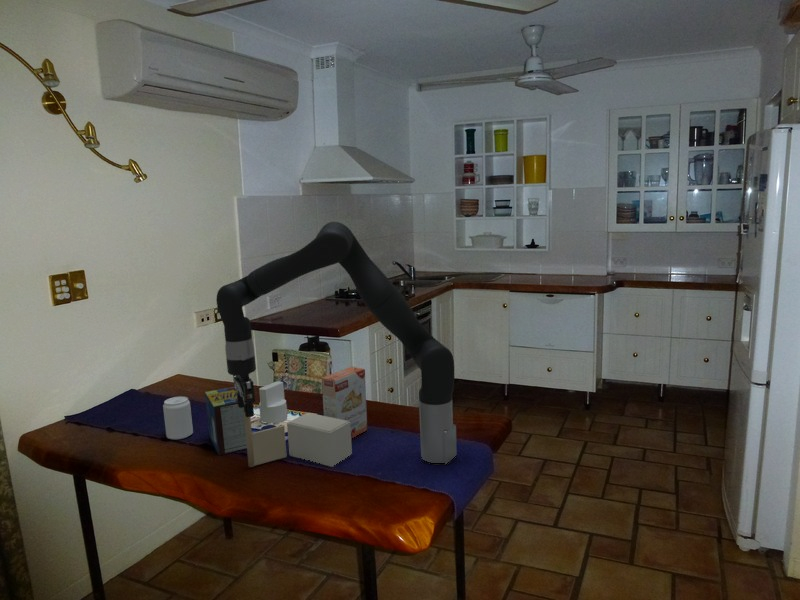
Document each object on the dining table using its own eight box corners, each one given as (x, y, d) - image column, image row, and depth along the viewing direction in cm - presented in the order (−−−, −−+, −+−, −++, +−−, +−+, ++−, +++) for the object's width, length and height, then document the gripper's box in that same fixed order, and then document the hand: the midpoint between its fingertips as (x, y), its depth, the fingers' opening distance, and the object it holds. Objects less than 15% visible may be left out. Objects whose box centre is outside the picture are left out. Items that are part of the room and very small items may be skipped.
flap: (249, 467, 167) (244, 414, 164) (247, 465, 168) (243, 412, 165) (287, 457, 172) (283, 405, 170) (285, 455, 174) (281, 403, 171)
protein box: (242, 431, 194) (238, 385, 191) (253, 448, 181) (249, 399, 178) (209, 438, 190) (204, 391, 187) (218, 456, 176) (213, 406, 173)
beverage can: (162, 436, 192) (157, 401, 190) (185, 428, 198) (181, 394, 196) (174, 443, 187) (169, 406, 185) (198, 434, 193) (194, 399, 191)
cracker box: (339, 447, 178) (335, 380, 175) (324, 443, 182) (320, 377, 178) (369, 431, 189) (365, 368, 186) (354, 427, 193) (351, 365, 189)
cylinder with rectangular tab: (274, 426, 197) (271, 391, 195) (254, 421, 202) (251, 387, 200) (293, 416, 205) (290, 383, 203) (273, 412, 210) (270, 380, 208)
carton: (352, 454, 173) (350, 420, 171) (332, 467, 166) (330, 431, 164) (309, 444, 182) (307, 412, 180) (289, 455, 174) (286, 422, 172)
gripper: (221, 351, 167) (226, 406, 170) (232, 363, 155) (238, 422, 158) (247, 347, 171) (253, 401, 174) (260, 358, 158) (266, 416, 161)
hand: (246, 411), depth 166 cm, fingers open, 8 cm apart
